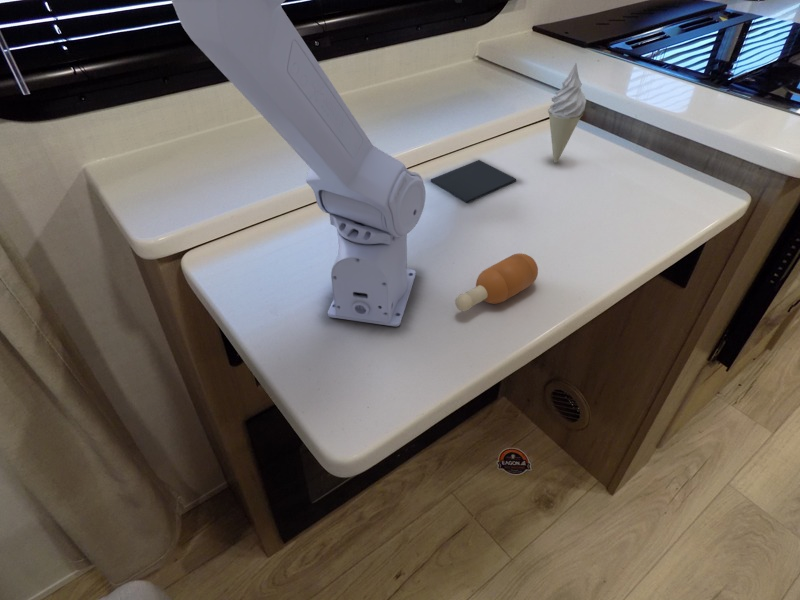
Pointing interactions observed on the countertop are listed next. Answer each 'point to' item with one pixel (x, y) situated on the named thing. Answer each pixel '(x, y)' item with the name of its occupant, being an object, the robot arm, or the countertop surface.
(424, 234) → the countertop surface
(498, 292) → the drumstick
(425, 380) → the countertop surface
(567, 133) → the ice cream cone
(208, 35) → the robot arm
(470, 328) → the countertop surface
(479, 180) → the mat
